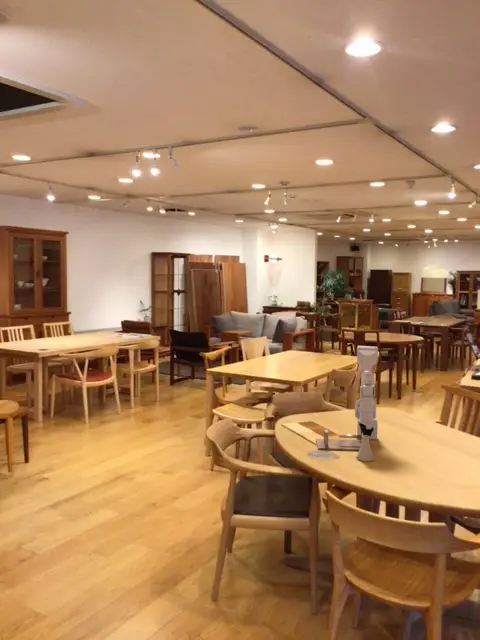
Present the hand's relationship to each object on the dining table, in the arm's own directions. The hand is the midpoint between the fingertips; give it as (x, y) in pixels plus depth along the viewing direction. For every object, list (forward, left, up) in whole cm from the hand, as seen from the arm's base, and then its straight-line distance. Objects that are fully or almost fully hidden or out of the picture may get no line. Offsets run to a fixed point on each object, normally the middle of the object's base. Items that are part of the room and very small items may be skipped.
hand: (365, 440), depth 265 cm
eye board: (+11, 0, -3) cm, 11 cm away
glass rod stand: (+6, 0, -1) cm, 6 cm away
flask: (+3, +18, -3) cm, 19 cm away
